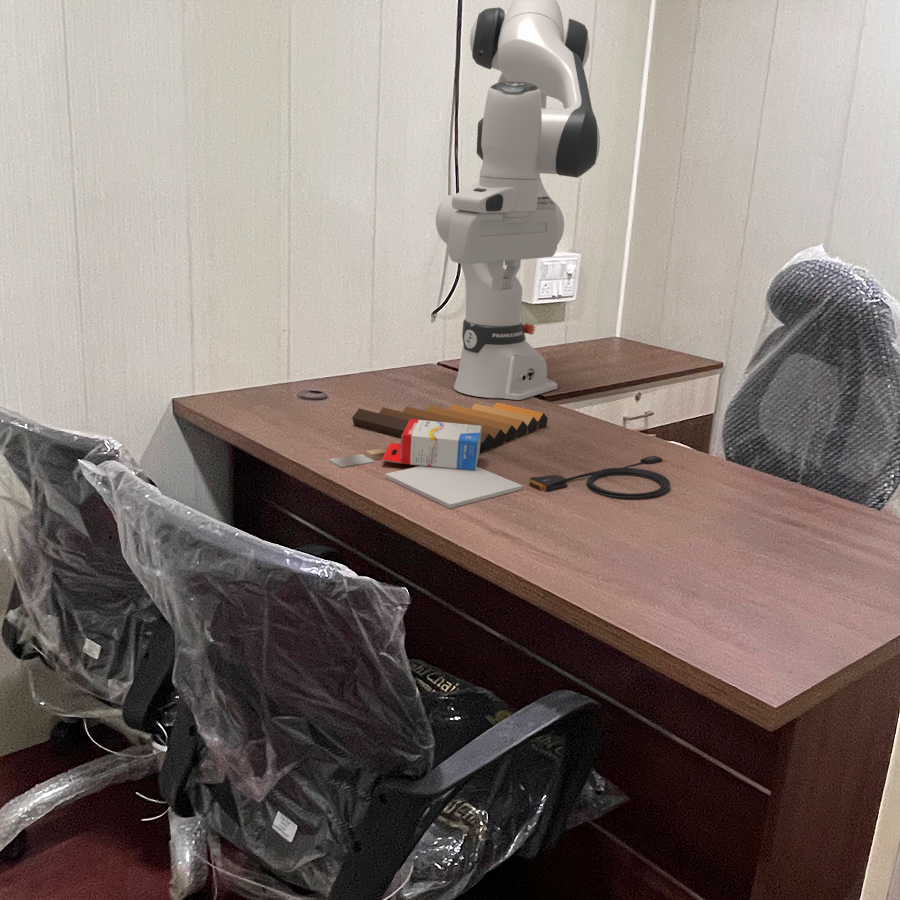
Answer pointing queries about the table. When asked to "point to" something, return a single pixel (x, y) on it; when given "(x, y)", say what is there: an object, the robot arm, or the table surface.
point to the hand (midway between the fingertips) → (502, 289)
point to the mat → (453, 484)
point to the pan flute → (459, 420)
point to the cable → (559, 482)
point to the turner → (360, 458)
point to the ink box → (437, 445)
